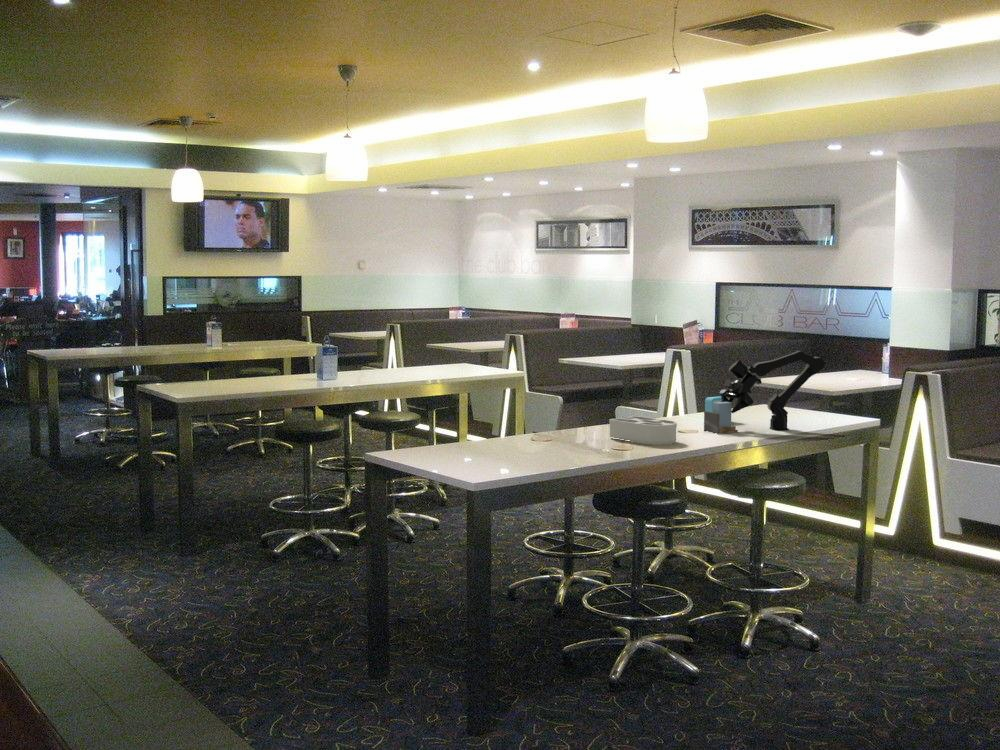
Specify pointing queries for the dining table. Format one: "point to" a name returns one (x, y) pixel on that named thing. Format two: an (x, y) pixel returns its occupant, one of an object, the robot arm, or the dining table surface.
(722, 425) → the blue angular block
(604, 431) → the dining table surface
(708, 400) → the data package
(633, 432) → the ice cube tray
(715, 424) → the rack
